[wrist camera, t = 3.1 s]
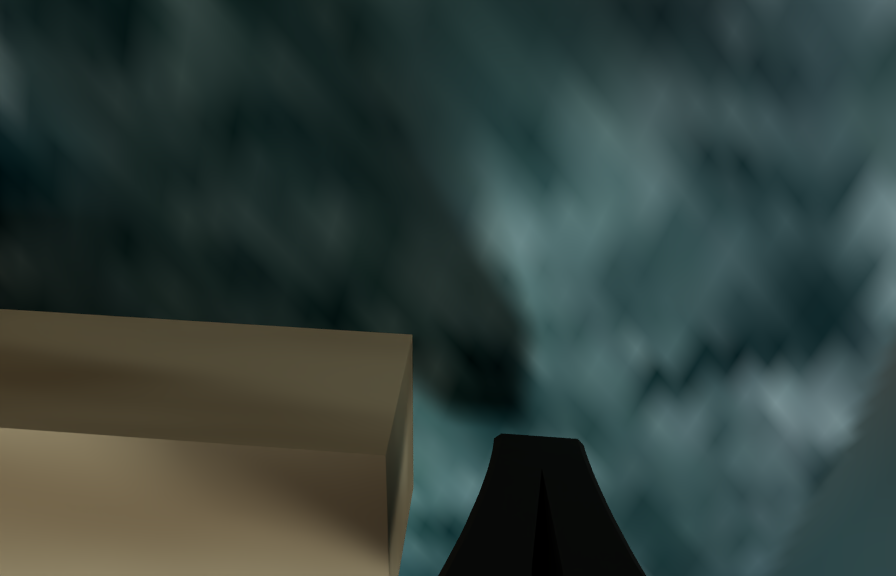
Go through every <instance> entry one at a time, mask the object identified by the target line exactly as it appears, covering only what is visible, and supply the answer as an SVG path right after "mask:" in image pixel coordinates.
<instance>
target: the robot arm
mask: <svg viewBox="0 0 896 576" xmlns="http://www.w3.org/2000/svg"><path fill="white" fill-rule="evenodd" d="M438 576H646V575H645V573H644V571H643V570H642V568H641V566H640V565H639V563H638V561H637V559H636V558H635V556H634V554H633V552H632V551H631V549H630V547H629V545H628V543H627V541H626V540H625V538H624V536H623V534H622V532H621V530H620V528H619V526H618V524H617V523H616V521H615V519H614V517H613V515H612V513H611V511H610V509H609V507H608V505H607V503H606V500H605V498H604V496H603V494H602V492H601V489H600V487H599V485H598V483H597V480H596V478H595V476H594V473H593V471H592V468H591V466H590V463H589V460H588V457H587V455H586V452H585V448H584V445H583V444H582V443H581V442H580V441H579V440H578V439H571V438H557V437H543V436H529V435H515V434H500V435H499V436H497V437H496V438H494V444H493V451H492V455H491V459H490V463H489V467H488V470H487V473H486V476H485V479H484V481H483V484H482V487H481V490H480V492H479V495H478V497H477V499H476V502H475V504H474V506H473V508H472V511H471V513H470V515H469V518H468V520H467V522H466V524H465V526H464V529H463V531H462V533H461V535H460V537H459V538H458V540H457V542H456V544H455V546H454V548H453V550H452V552H451V553H450V555H449V557H448V559H447V561H446V563H445V565H444V566H443V568H442V570H441V572H440V574H439V575H438Z"/></svg>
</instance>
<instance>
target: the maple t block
mask: <svg viewBox="0 0 896 576" xmlns="http://www.w3.org/2000/svg"><path fill="white" fill-rule="evenodd" d="M412 492H413V347H412V335H410V334H394V333H378V332H362V331H346V330H330V329H314V328H298V327H282V326H266V325H250V324H234V323H218V322H201V321H185V320H169V319H153V318H137V317H121V316H105V315H89V314H73V313H57V312H41V311H25V310H9V309H0V576H398V574H399V569H400V563H401V557H402V551H403V545H404V539H405V533H406V527H407V521H408V515H409V510H410V504H411V498H412Z"/></svg>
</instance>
